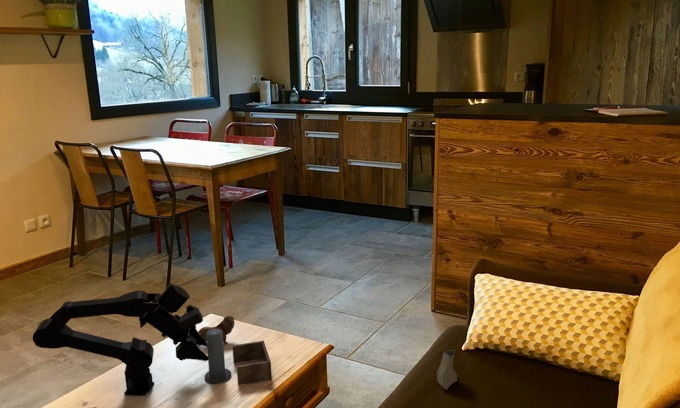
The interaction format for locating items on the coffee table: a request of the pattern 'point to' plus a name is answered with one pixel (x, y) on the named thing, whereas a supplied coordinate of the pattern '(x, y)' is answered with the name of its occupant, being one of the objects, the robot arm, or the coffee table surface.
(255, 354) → the crate
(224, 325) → the lion figurine
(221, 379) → the coaster
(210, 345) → the grey post
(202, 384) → the coffee table surface
